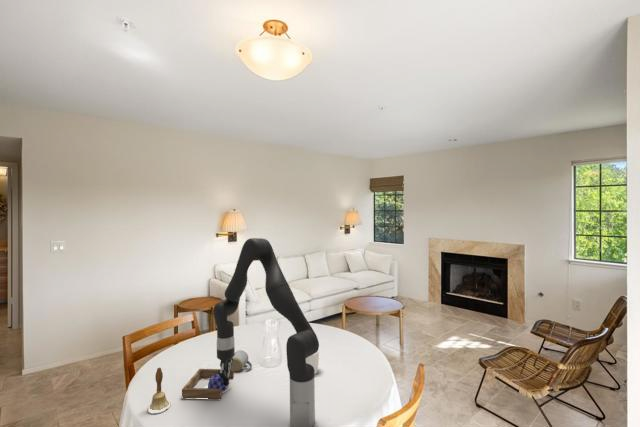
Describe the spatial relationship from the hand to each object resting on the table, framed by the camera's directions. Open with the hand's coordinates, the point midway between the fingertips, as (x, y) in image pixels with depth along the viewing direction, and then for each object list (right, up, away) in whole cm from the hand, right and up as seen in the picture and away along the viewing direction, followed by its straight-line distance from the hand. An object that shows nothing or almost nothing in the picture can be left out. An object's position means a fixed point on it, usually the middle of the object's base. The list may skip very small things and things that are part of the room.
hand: (226, 384), depth 144 cm
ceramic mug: (+2, -1, +18) cm, 18 cm away
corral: (-7, -2, 0) cm, 7 cm away
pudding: (-4, -2, 0) cm, 5 cm away
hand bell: (-23, -2, -14) cm, 27 cm away
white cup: (+37, -1, +14) cm, 39 cm away
